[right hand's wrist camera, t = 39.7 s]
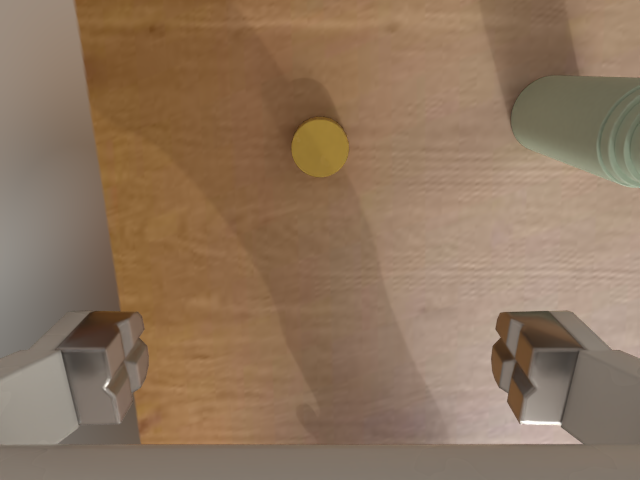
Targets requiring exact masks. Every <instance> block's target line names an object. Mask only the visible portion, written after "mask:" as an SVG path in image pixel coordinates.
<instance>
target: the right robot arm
mask: <svg viewBox="0 0 640 480" xmlns="http://www.w3.org/2000/svg"><path fill="white" fill-rule="evenodd" d="M143 331H144V324H143V319H142V316H141V315H140V314H139V312H120V311H70V312H67V313H66V314H65V315H64V316H63V317H62V318H61V319H60V320H59V321H58V322H57V323H56V324H55V325H54V326H53V327H51V328H50V329H49V330H48V331H47V332H46V333H45V334H44V335H43V336H42V337H41V338H40V339H39V340H38V341H37V342H36V343H35V344H34V345H33V346H32V347H31V348H30V349H28V350H20V351H17V352H15V353H13V354H10V355H8V356H6V357H3V358H1V359H0V480H640V359H639V358H637V357H635V356H632V355H630V354H627V353H625V352H623V351H620V350H612V349H611V348H610V347H608V346H607V345H606V344H605V343H604V342H603V341H602V340H601V339H600V338H599V337H598V336H597V335H596V334H595V333H594V332H593V331H592V330H591V329H590V328H589V327H588V326H587V325H585V324H584V323H583V322H582V321H581V320H580V319H579V318H578V317H577V316H576V315H575V314H574V313H573V312H570V311H567V310H566V311H530V312H503V313H500V314H499V316H498V319H497V323H496V331H497V332H498V334H499V335H500V337H501V338H500V339H499V340H498V341H497V342H496V343H495V344H494V345H493V348H492V356H491V363H492V372H493V375H494V378H495V381H496V383H497V384H498V386H499V388H501V389H502V390H504V391H505V392H507V393H508V399H507V402H508V404H509V406H510V408H511V409H512V411H513V413H514V415H515V416H516V418H517V420H518V422H519V423H520V424H538V425H561V427H562V428H563V429H564V430H566V431H567V432H568V433H570V434H571V435H572V436H574V437H575V438H576V439H577V440H579V441H580V442H581V443H583V444H57V443H59V442H60V441H61V440H63V439H64V438H65V437H67V436H68V435H69V434H71V433H72V432H73V431H75V430H76V429H77V428H78V427H79V425H101V424H121V422H122V420H123V418H124V416H125V415H126V413H127V411H128V409H129V408H130V406H131V404H132V402H133V399H132V393H133V392H135V391H136V390H138V389H139V388H141V386H142V384H143V382H144V381H145V379H146V375H147V370H148V366H149V355H148V348H147V345H146V344H145V343H144V342H143V341H142V340H141V339H140V338H139V337H140V335H141V334H142V332H143Z"/></svg>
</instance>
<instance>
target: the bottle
mask: <svg viewBox="0 0 640 480" xmlns="http://www.w3.org/2000/svg"><path fill="white" fill-rule="evenodd" d="M511 127H512V131H513V133H514V136H515V137H516V139H517V140H518V141H519V143H520V144H522V145H523V146H524V147H526V148H528V149H530V150H532V151H535V152H537V153H540V154H543V155H545V156H548V157H550V158H553V159H555V160H558V161H561V162H563V163H566V164H568V165H571V166H574V167H576V168H579V169H581V170H584V171H586V172H589V173H592V174H594V175H597V176H599V177H602V178H604V179H607V180H610V181H612V182H615V183H617V184H620V185H623V186H626V187H633V188H640V78H626V77H593V76H560V75H552V76H546V77H543V78H540V79H538V80H536V81H534V82H532V83H531V84H530V85H528V86H527V87H526V88H525V89H524V90H523V91H522V92H521V94H520V95H519V96H518V98H517V100H516V102H515V104H514V106H513V110H512V114H511Z"/></svg>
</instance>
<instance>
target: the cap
mask: <svg viewBox="0 0 640 480" xmlns="http://www.w3.org/2000/svg"><path fill="white" fill-rule="evenodd" d="M293 136H294V138H293V139H292V142H291V143H292V146H291V151H292V157H293V159H294V161H295V163H296V165H297V166H298V167H299V168H300V169H301V170H302V171H303V172H304V173H306V174H308V175H310V176H314V177H326V176H330V175H332V174H334V173H336V172H337V171H339V170H340V169H341V168H342V166H343V165H344V163H345V162H346V160H347V157H348V152H349V145H348V144H349V142H348V139H347V135H346V133H345V132H344V130H343V127H341V126H340V125H339V124H338V122H335V121H334V120H332V119H331V118H326V117H325V116H323V117H317V116H316V117H314V118H309V119H308V120H306V121H305V122H303V123H302V124H301V125H300V126H298V129H297V131H296V132H295V133H294V135H293Z"/></svg>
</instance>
